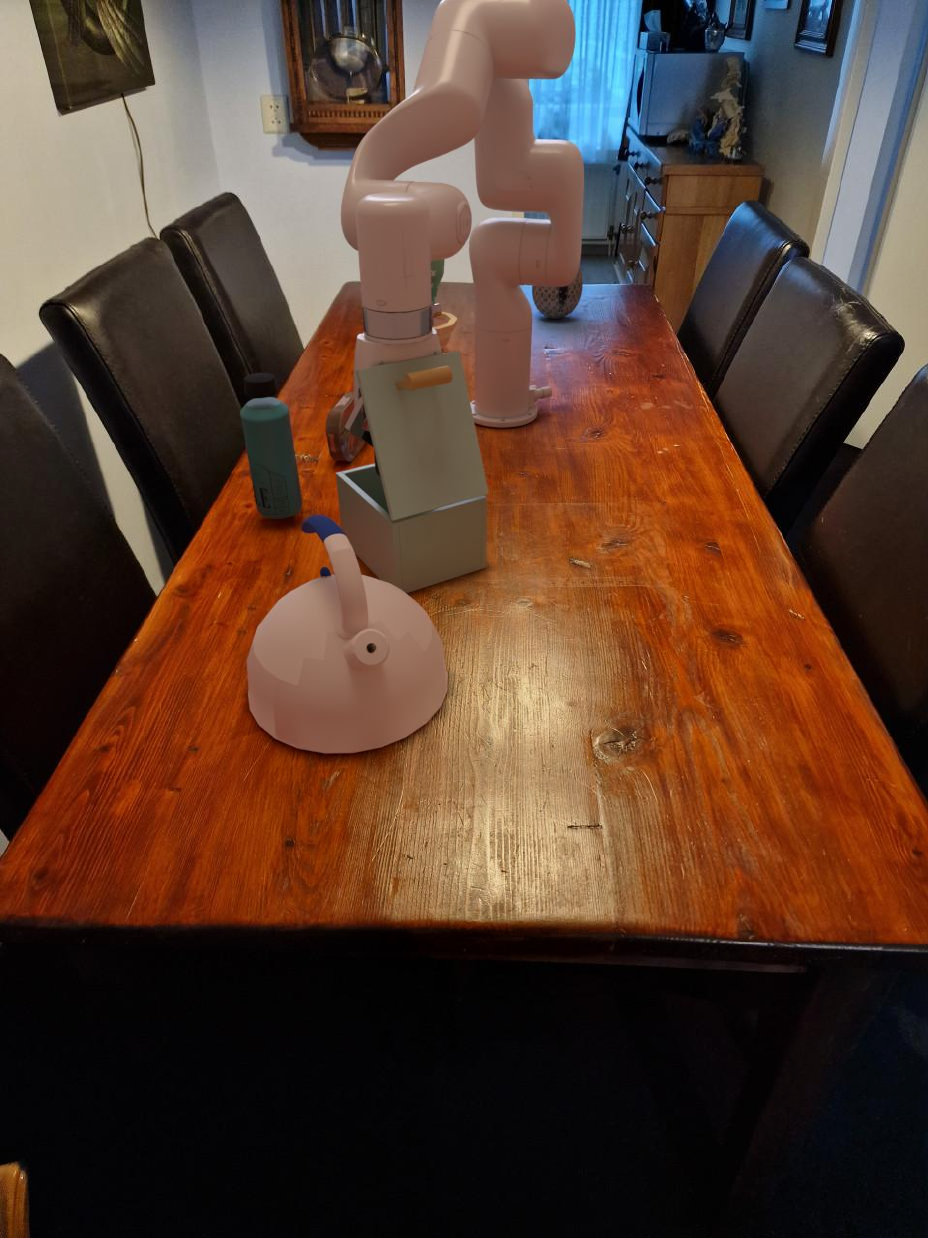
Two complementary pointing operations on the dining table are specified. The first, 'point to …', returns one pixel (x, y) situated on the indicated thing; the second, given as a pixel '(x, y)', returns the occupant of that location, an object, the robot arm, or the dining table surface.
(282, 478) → the beverage bottle
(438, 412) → the lid
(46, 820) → the dining table surface
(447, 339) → the potted cactus
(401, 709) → the kettle
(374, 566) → the chest
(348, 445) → the tin
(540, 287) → the decorative egg
